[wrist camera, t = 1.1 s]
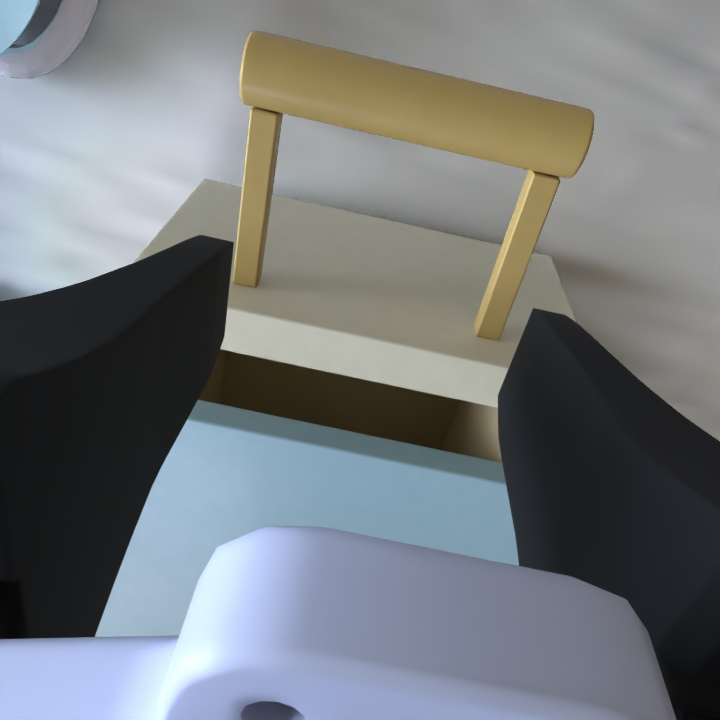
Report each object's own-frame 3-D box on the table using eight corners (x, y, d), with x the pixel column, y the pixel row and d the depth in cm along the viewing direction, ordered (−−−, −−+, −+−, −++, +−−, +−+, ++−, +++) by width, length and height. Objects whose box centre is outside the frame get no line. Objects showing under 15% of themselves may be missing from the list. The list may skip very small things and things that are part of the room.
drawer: (217, -19, 18) (111, 10, 12) (622, 78, 18) (724, 155, 12) (180, 511, 29) (117, 664, 23) (428, 560, 30) (430, 723, 24)
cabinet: (188, 240, 23) (74, 395, 15) (536, 316, 24) (591, 502, 16) (170, 548, 32) (93, 740, 25) (420, 597, 33) (420, 799, 25)
